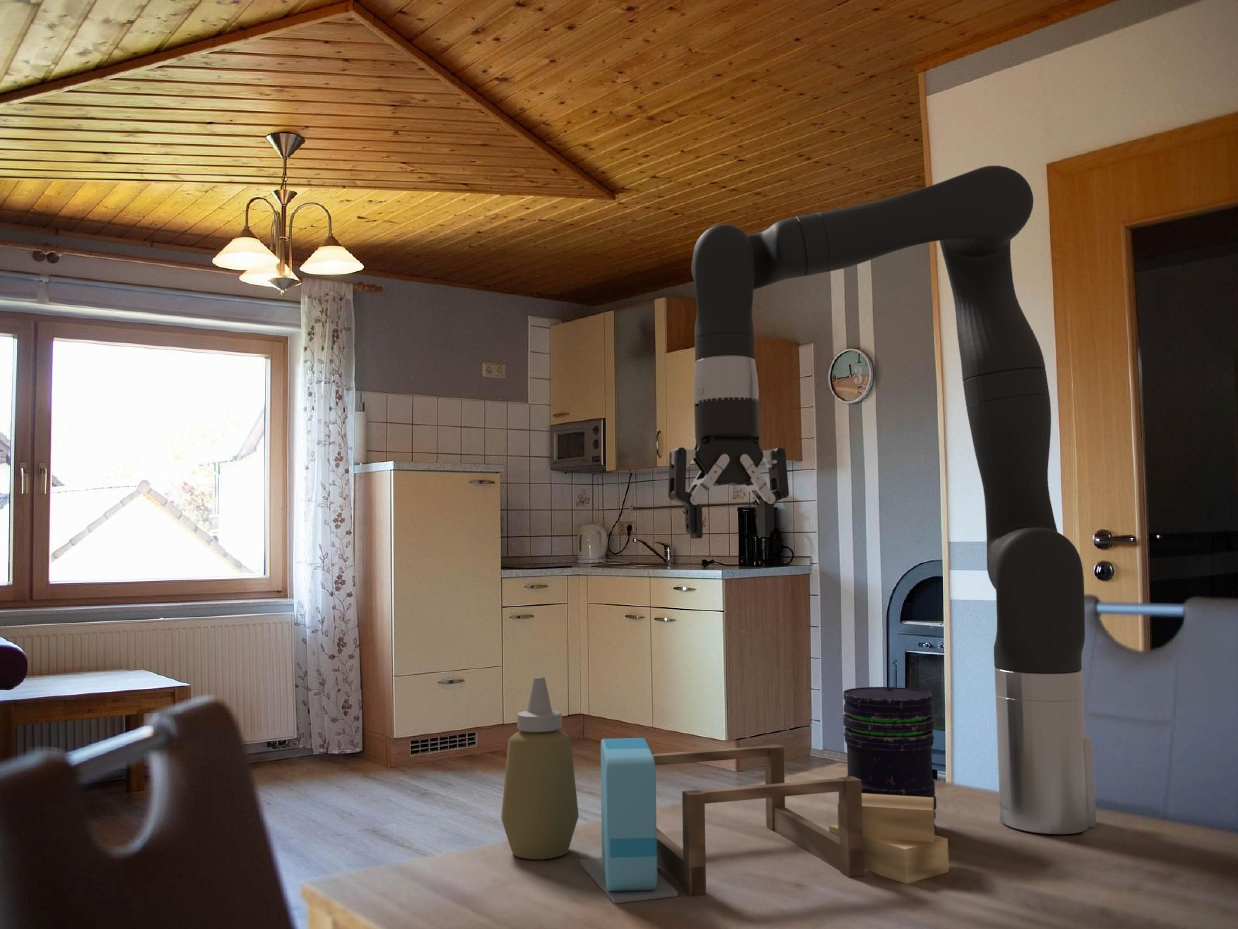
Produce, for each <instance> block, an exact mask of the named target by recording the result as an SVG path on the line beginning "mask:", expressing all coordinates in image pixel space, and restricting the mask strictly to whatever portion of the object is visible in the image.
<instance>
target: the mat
mask: <svg viewBox="0 0 1238 929" xmlns="http://www.w3.org/2000/svg"><path fill="white" fill-rule="evenodd" d="M579 862H580V863H579V864H580V865H581V867H582V868H583V869H584V870H585V871H586V873H588V875H589V877H591V879H592V880H593V881H594V882H595V883H596V884H597V885H598V886H599V888H600V889H601V891H603V893H604V894H605V895H606V896H607V897H608V898H609V899H610V901H611V902H612V903H613V904H620V903H621V904H622V903H629V902H639V901H647V900H654V899H655V900H656V899H665V898H672V897H673V898H674V897H678V891H677V889H675V888H674V887H673V886H672V885H671V884H670V883H669V882H668V881H667V880H666V879H665V878H664V877H662V876H661V875H660V874H659V873H658V872H657V887H656V889H655V890H636V891H608V890H607V886H606V880H605V873H604V866H603V860H602V857H597V858H596V857H594V858H585V859H584V858H583V859H580V860H579Z"/></svg>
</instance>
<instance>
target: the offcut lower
mask: <svg viewBox="0 0 1238 929" xmlns="http://www.w3.org/2000/svg"><path fill="white" fill-rule="evenodd" d="M828 826H829V827H828V828H829V829H828V831H829V832H831V833H833V834H835V835H837V836H838V823H836V824H835V823H834V824H831V825H828ZM838 837H840V836H838ZM948 840H949V839H948V837H947V838H946V837H943V836H939V835H937V834H935V835H934V842H922V841H908V840H894V839H880V838H866V837H863V862H864V871H865V870H866V871H869V872H871V873H874V874H877V875H881V876H883V877H886V878H889V879H891V880H894V881H897V882H900V883H902V884H910V883H914V882H917V881H920V880H922V881H923V880H924V879H925V880H926V879H928V878H932V877H937V876H940V875H943V874H946V873H949V872H950V867H949V862H950V861H949V842H948Z"/></svg>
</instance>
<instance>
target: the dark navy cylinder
mask: <svg viewBox="0 0 1238 929" xmlns="http://www.w3.org/2000/svg"><path fill="white" fill-rule="evenodd" d="M842 696H843V700H844V704H843V713H844V714H843V715H842V720H843V722H842V723H843V724H842V725H843V726H844V733H843V736H844V742H845V743H846V758H847V759H846V760H847V762H846V763H847V766H846V767H847V776H846V777H851V776H853V777H856V778H858V779H860V780H861V791H862V793H865V794H882V795H899V796H916V797H933V798H934V824H935V822H936V821H935V820H936V818H937V817H936V810H937V797H936V786H935V785H936V783H935V780H934V778H933V763H932V760H933V758H932V747H933V745H934V739H935V737H934V731H933V729H934V727H935V726H934V723H935V722H934V717H933V707H932V704H931V703H932V702H933V694H932V692H930V691H926V690H923V689H917V688H909V687H897V686H895V687H894V686H867V687H866V686H865V687H855V688H854V687H853V688H848V689H845V690H844V691H843V695H842ZM934 835H937V826H936V824H935V831H934Z"/></svg>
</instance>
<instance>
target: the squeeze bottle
mask: <svg viewBox="0 0 1238 929" xmlns="http://www.w3.org/2000/svg"><path fill="white" fill-rule="evenodd" d="M532 680H533V681H532V685H531V688H530V695H529V700H528V703H527V710H523V711H519V712H518V713H517V714H516V716H517V717H516V722H517V724H516V726H517V729H518V730H519V731H517V732H515V733H513V735H511V736H510V737H509V738H508V741H507V742H508V743H507V752H506V763H505V764H506V765H505V772H504V774H505V775H504V783H503V784H504V785H503V794H502V802H501V803H502V805H501V816H500V818H501V822H502V826H503V828H504V832H505V834H506V838H507V840H508V844H509V847H510V851H511V852H512V855H513V856H515V857H518V858H520V859H521V858H522V859H527V860H545V859H546V860H548V859H553V858H558V857H562V856H564V855H565V854H567V853H568V851H569V849H570V846H571V843H572V840H573V836H574V832H575V829H576V826H577V823H578V821H579V816H580V813H579V807H578V795H577V788H576V776H575V767H574V757H573V749H572V740H571V737H570V736H569V735H568V734H567V733H566V732H565V731H563V730H560V729H561V728H562V724H563V722H562V721H563V720H562V719H563V717H562V716H563V715H562V712H561V711H559V710H556V709H555V710H553V709H552V705H551V700H550V699H551V698H550V695H549V691H548V687H547V682H546V678H545V677H543V676H536V677H533V679H532Z"/></svg>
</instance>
